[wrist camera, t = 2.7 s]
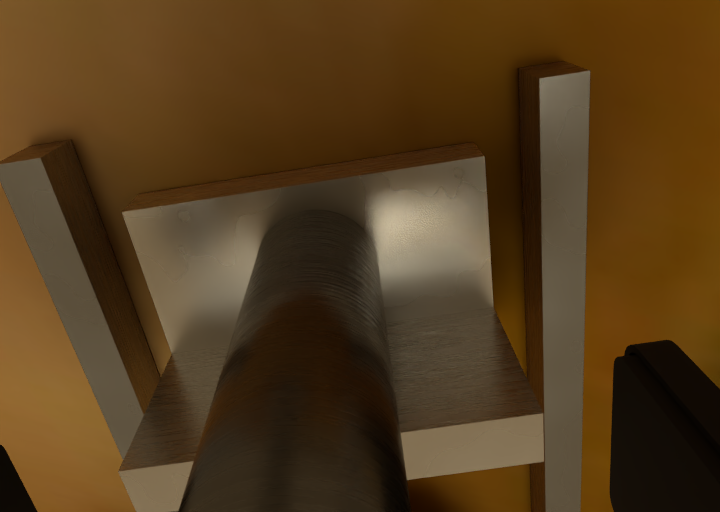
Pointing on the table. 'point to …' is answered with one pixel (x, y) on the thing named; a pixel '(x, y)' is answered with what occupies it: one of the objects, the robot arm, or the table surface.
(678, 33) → the table surface
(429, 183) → the carriage
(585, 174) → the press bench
